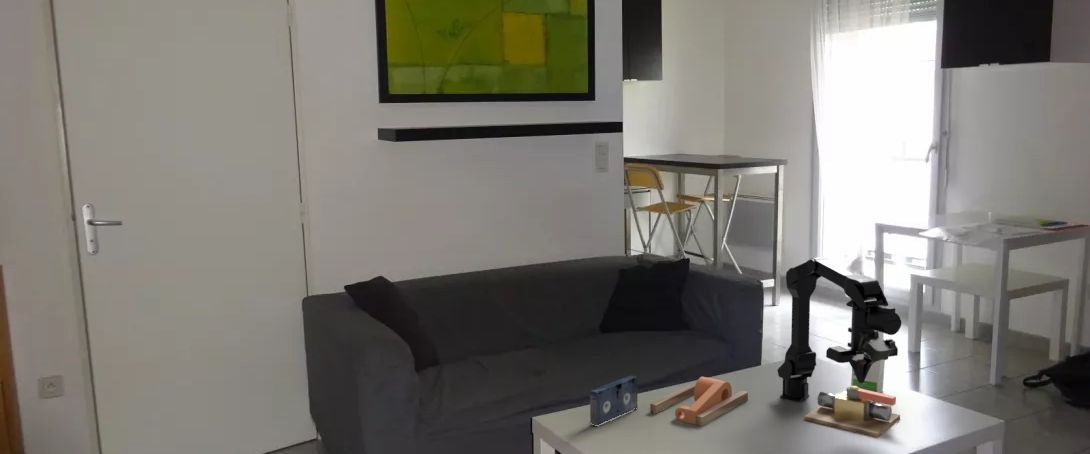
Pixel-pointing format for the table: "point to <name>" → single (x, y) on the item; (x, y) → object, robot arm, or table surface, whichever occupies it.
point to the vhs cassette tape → (613, 400)
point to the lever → (870, 395)
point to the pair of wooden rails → (705, 415)
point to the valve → (854, 407)
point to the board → (851, 422)
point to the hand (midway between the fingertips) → (860, 382)
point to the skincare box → (871, 378)
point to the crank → (704, 398)
